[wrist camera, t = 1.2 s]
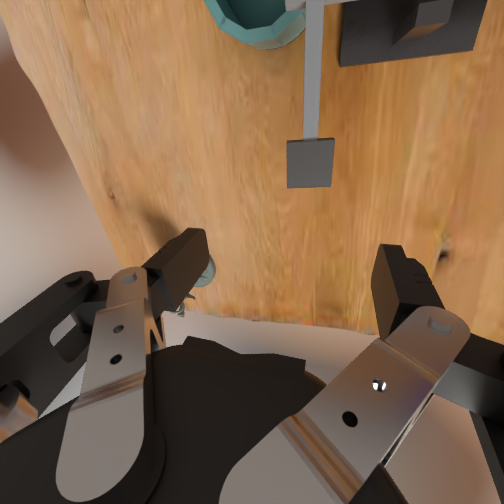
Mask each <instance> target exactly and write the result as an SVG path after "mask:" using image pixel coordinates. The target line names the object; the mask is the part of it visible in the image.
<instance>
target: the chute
mask: <svg viewBox="0 0 504 504" xmlns="http://www.w3.org/2000/svg"><path fill="white" fill-rule="evenodd" d="M348 1H355V0H285V6H286V11H291V10H298V9H304V8H306V15H305V63H304V112H303V140H290V141H287V188H312V187H331V181H332V169H333V157H334V145H335V139H334V138H319V139H318V120H319V99H320V79H321V58H322V38H323V17H324V5H329V4H336V3H342V2H348Z"/></svg>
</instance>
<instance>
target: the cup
mask: <svg viewBox="0 0 504 504" xmlns="http://www.w3.org/2000/svg"><path fill="white" fill-rule="evenodd" d="M204 2H205V4H206V6H207V7H208V9H209V11H210V13H211V15H212V16H213V18H214V20H215V22H216V23H217V25H218V27H219V28H220V29H221V30H223V31H224V32H226V33H228V34H229V35H231V36H233V37H235V38H236V39H238V40H240V41H241V42H243V43H245V44H247V45H249V46H251V47H254V48H256V49H258V50H262V49H276V48H280V47H282V46H285V45H287V44H288V43H290V42H292V41H293V40H294V39H296V38H297V37H298V36H299V35H300V34H301V33H302V32H303V31H304V29H305V15H306V8H304V9H298V10H291V11H286V6H285V0H204Z"/></svg>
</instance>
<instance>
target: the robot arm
mask: <svg viewBox="0 0 504 504" xmlns="http://www.w3.org/2000/svg"><path fill="white" fill-rule="evenodd" d="M209 259H210V256H209V250H208V244H207V238H206V233H205V230H204V229H200V228H187V229H186V230H185V231H184V232H183V233H182V234H181V235H180V236H178V237H176V238H174V239H172V240H170V241H168V242H167V243H166V244H165V245H164V246H163V248H161V249H160V250H159V251H158V253H157V252H156V253H155V254H154V255H153V256H152V257H151V258H150V259H149V260H148V261H147V262H146V263H144V264H143V265H142V266H141V267H129V268H126V269H123V270H121V271H119V272H118V273H116V274H115V275H113V277H112V278H111V279H110V280H102V281H96V280H95V278H94V276H93V274H92V273H91V272H89V271H79V272H74V273H71V274H69V275H67V276H65V277H63V278H61V279H60V280H58V281H57V282H56V283H54V284H53V285H52V286H51V287H49V288H48V289H46V290H45V291H44V292H42V293H41V294H39V295H38V296H37V297H36V298H34V299H33V300H31V301H30V302H29V303H27V304H26V305H25V306H23V307H22V308H21V309H19V310H18V311H17V312H15V313H14V314H12V315H11V316H10V317H8V318H7V319H6V320H4V321H3V322H2V323H0V504H409V503H408V502H407V500H406V499H405V497H404V496H403V494H402V493H401V491H400V490H399V488H398V487H397V485H396V484H395V482H394V481H393V479H392V478H391V476H390V474H389V473H388V472H387V470H386V468H385V466H386V464H387V463H388V462H389V460H390V459H391V457H392V456H393V454H394V453H395V452H396V450H397V449H398V447H399V445H400V444H401V442H402V441H403V439H404V438H405V436H406V435H407V433H408V432H409V430H410V429H411V427H412V426H413V425H414V423H415V422H416V420H417V419H418V417H419V416H420V414H421V413H422V412H423V410H424V409H425V407H426V406H427V404H428V403H429V402H430V400H431V399H432V397H433V396H434V394H436V395H438V396H440V397H442V398H445V399H446V400H449V401H451V402H453V403H455V404H457V405H459V406H461V407H463V408H465V409H468V410H469V412H470V415H471V418H472V421H473V423H474V426H475V429H476V432H477V435H478V438H479V440H480V444H481V446H482V449H483V452H484V455H485V458H486V461H487V464H488V466H489V469H490V472H491V475H492V478H493V481H494V484H495V486H496V489H497V492H498V495H499V498H500V501H501V504H504V345H502V344H499V343H496V342H494V341H491V340H488V339H485V338H482V337H479V336H477V335H474V334H472V333H471V332H470V329H469V327H468V325H467V324H466V323H465V322H464V321H463V320H462V319H461V318H460V317H458V316H457V315H455V314H454V313H452V312H450V311H448V310H445V308H444V306H443V304H442V302H441V300H440V298H439V295H438V293H437V291H436V289H435V287H434V285H432V281H431V279H430V277H428V276H429V275H428V273H427V271H426V269H425V267H424V266H423V265H422V264H420V263H419V262H418V261H417V260H416V259H413V258H406V255H405V253H404V250H403V248H402V246H401V245H390V244H380V246H379V248H378V252H377V256H376V260H375V264H374V268H373V272H372V277H371V290H372V295H373V301H374V306H375V312H376V318H377V323H378V329H379V335H380V338H377V339H376V340H374V341H373V342H372V343H371V344H370V345H369V346H368V347H367V348H366V349H365V350H364V351H363V352H362V353H361V354H360V355H358V357H357V358H355V359H354V360H353V361H352V362H351V363H350V364H349V365H348V366H347V367H346V368H345V369H344V370H343V371H342V372H341V373H340V374H338V375H337V376H336V377H335V378H334V379H333V380H332V381H331V382H330V383H329V384H328V385H327V384H325V383H324V382H323V381H321V380H320V379H319V378H318V377H316V376H314V375H313V374H311V373H309V372H307V371H305V362H306V360H303V359H298V358H293V357H288V356H283V355H279V354H239V353H237V352H235V351H233V350H230V349H229V348H226V347H224V346H222V345H220V344H218V343H216V342H215V341H211V340H206V339H201V338H196V337H191V336H187V338H186V339H185V341H184V343H183V345H176V346H171V347H167V348H166V340H165V332H164V324H163V318H162V315H161V314H162V312H163V311H164V310H165V311H170V312H175V311H176V310H177V308H178V307H179V306H180V304H181V303H182V302H183V300H184V299H185V297H186V296H187V295H188V293H189V292H190V290H191V289H192V288H193V286H194V285H195V283H196V282H197V281H198V279H199V278H200V277H201V275H202V274H203V272H204V271H205V270H206V268H207V267H208V264H209ZM69 314H70V315H71V316H72V318H73V319H74V321H75V323H76V326H74V327H73V328H72V329H71V330H70V331H69V332H68V333H67V334H66V335H65V336H64V337H63V338H62V339H61V340H60V341H59V342H58V343H57V344H56V345H55V346H54V347H53V345H52V344H51V342H50V334H51V332H52V330H53V329H54V328H55V327H56V326H57V325H58V324H59V323H60V322H62V321H63V320H64V319H65V318H66V317H67V316H68V315H69ZM85 362H86V367H85V372H84V377H83V383H82V387H81V393H80V395H79V396H78V397H76V398H74V399H73V400H71V401H69V402H68V403H66V404H64V405H62V406H61V407H59V408H57V409H56V410H54V411H52V412H50V413H49V414H47V415H45V416H44V417H42V418H40V419H38V418H39V416H40V415H41V414H42V413H43V412H44V411H45V409H46V408H47V407H48V406H49V405H50V404H51V402H52V401H53V400H54V399H55V398H56V396H57V395H58V394H59V393H60V392H61V391H62V389H63V388H64V387H65V386H66V385H67V384H68V382H69V381H70V380H71V379H72V378H73V376H74V375H75V374H76V373H77V372H78V370H79V369H80V368H81V367H82V366H83V365H84V363H85ZM37 419H38V420H37Z"/></svg>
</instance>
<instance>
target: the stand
mask: <svg viewBox="0 0 504 504" xmlns="http://www.w3.org/2000/svg"><path fill="white" fill-rule="evenodd" d="M486 3H487V0H355V1H348V2H345V6H344V18H343V30H342V43H341V55H340V67H346V66H354V65H362V64H371V63H379V62H387V61H395V60H403V59H411V58H419V57H428V56H436V55H444V54H452V53H460V52H468V51H472V50H473V47H474V43H475V40H476V37H477V33H478V30H479V27H480V23H481V20H482V17H483V13H484V10H485V6H486Z"/></svg>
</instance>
